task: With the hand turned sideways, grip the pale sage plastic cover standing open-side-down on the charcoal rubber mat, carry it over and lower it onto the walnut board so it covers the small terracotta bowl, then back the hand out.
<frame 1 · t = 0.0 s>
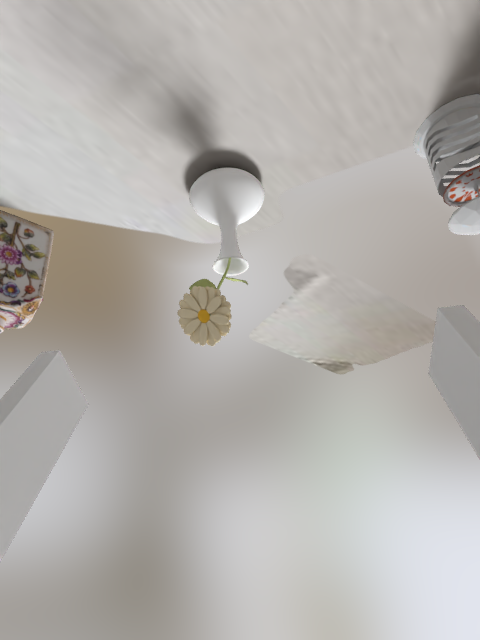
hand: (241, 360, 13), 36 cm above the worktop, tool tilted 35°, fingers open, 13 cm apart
french press: (460, 124, 47), on the worktop
decorative jar: (7, 230, 61), on the worktop
flower in vase: (221, 188, 55), on the worktop
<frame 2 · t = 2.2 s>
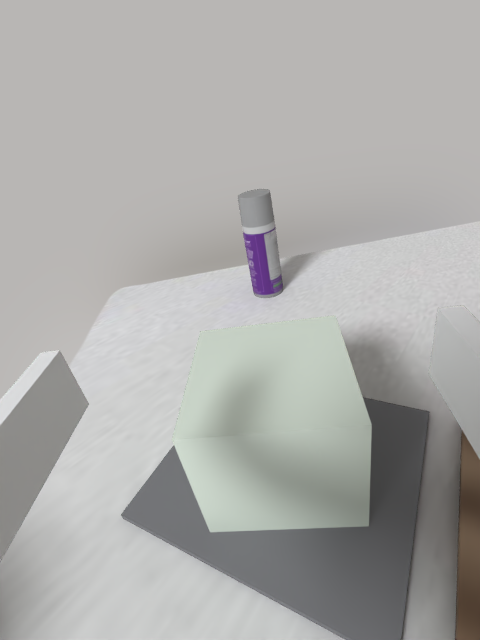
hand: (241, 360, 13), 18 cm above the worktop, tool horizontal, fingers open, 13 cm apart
container: (268, 291, 56), on the worktop
mat: (283, 464, 30), on the worktop
cover: (283, 460, 29), resting on mat
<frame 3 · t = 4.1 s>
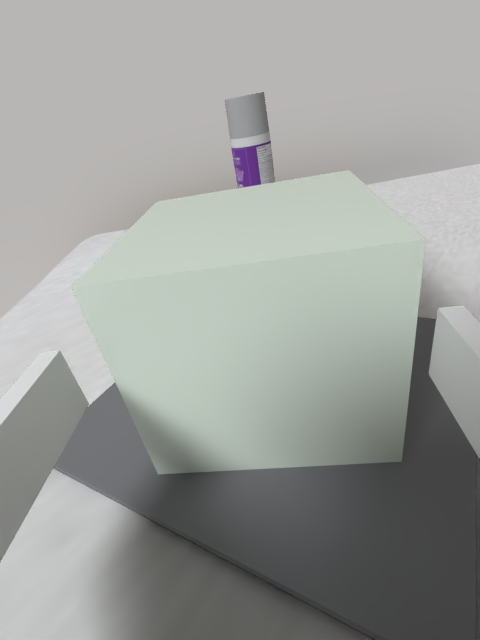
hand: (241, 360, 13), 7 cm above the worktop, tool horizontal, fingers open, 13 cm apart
container: (262, 228, 48), on the worktop
mat: (273, 390, 21), on the worktop
cover: (272, 384, 21), resting on mat
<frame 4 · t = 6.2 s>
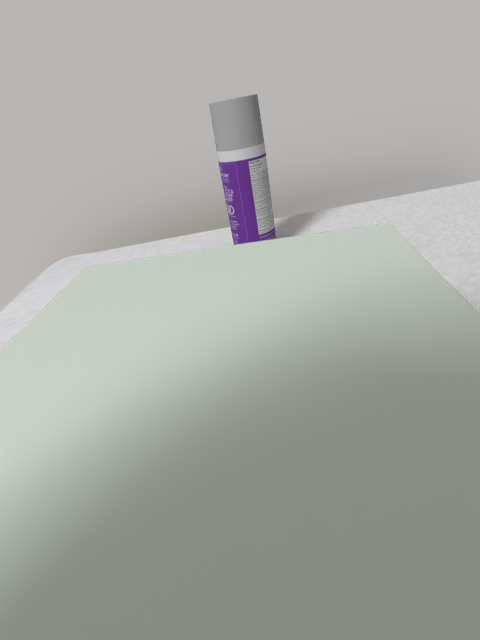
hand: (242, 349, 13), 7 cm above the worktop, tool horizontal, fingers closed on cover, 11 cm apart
container: (256, 255, 40), on the worktop
cover: (266, 551, 13), point 1 cm above the worktop, touching gripper, mat
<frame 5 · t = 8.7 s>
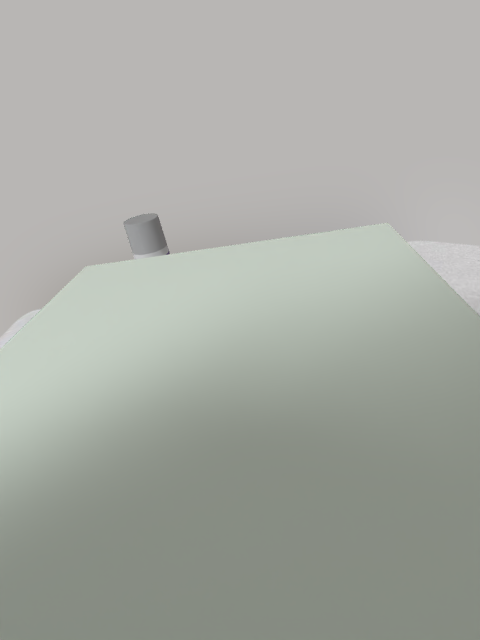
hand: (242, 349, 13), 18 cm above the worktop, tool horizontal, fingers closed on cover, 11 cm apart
container: (171, 319, 53), on the worktop
cover: (265, 552, 13), point 11 cm above the worktop, touching gripper
when the fingers open (9 cm above the worktop, at t = 11.5 s): cover drops 2 cm, resting on board.
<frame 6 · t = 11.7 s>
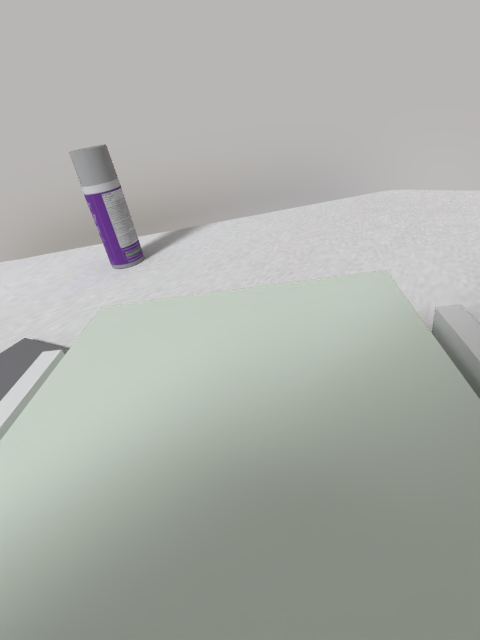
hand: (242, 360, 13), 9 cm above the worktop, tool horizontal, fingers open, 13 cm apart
container: (128, 263, 51), on the worktop
cover: (271, 576, 14), point 1 cm above the worktop, touching board
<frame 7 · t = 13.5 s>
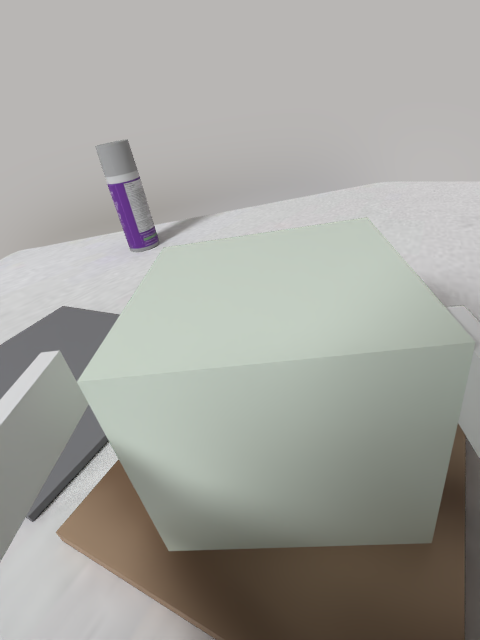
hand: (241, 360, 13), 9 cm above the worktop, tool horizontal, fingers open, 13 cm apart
container: (145, 247, 57), on the worktop
board: (287, 447, 20), on the worktop
mat: (54, 376, 30), on the worktop
cover: (286, 440, 20), point 1 cm above the worktop, touching board
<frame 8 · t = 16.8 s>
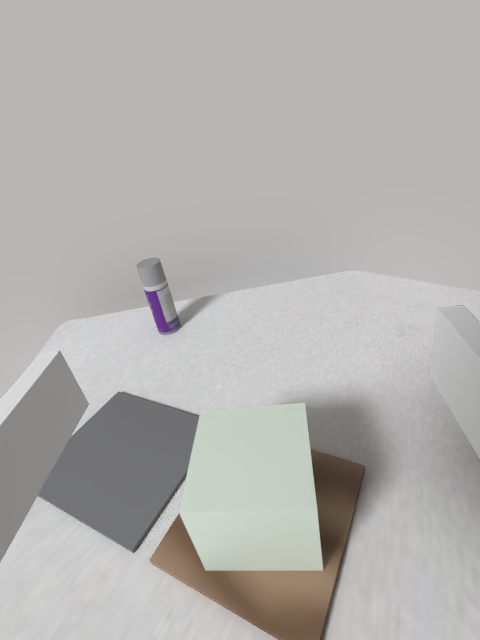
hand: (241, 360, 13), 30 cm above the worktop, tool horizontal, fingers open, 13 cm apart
container: (169, 329, 75), on the worktop
board: (264, 514, 38), on the worktop
mat: (125, 455, 48), on the worktop
cover: (263, 511, 38), point 1 cm above the worktop, touching board
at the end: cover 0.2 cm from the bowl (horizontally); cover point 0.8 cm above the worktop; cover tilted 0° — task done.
